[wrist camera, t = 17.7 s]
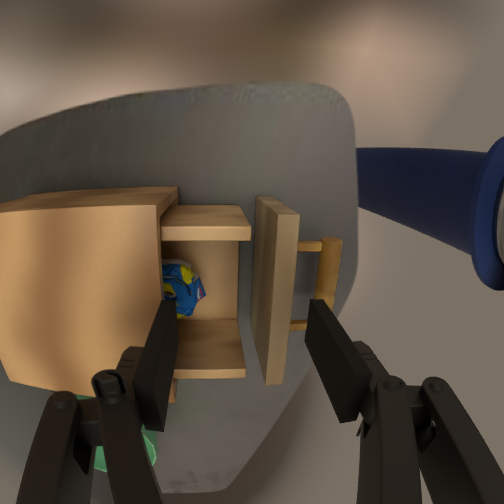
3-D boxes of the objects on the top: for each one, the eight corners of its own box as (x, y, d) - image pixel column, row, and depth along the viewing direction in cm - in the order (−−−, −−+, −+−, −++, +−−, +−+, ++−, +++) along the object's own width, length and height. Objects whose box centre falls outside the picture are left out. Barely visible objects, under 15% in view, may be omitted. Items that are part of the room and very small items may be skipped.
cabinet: (178, 186, 23) (156, 204, 14) (183, 328, 27) (175, 403, 17) (32, 194, 21) (-37, 216, 12) (53, 322, 25) (9, 380, 16)
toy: (212, 322, 21) (146, 333, 21) (211, 296, 24) (152, 307, 24) (197, 260, 19) (123, 274, 18) (197, 240, 22) (133, 252, 22)
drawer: (322, 198, 24) (369, 217, 16) (308, 324, 27) (339, 378, 20) (111, 196, 21) (67, 216, 14) (124, 326, 25) (100, 383, 17)
